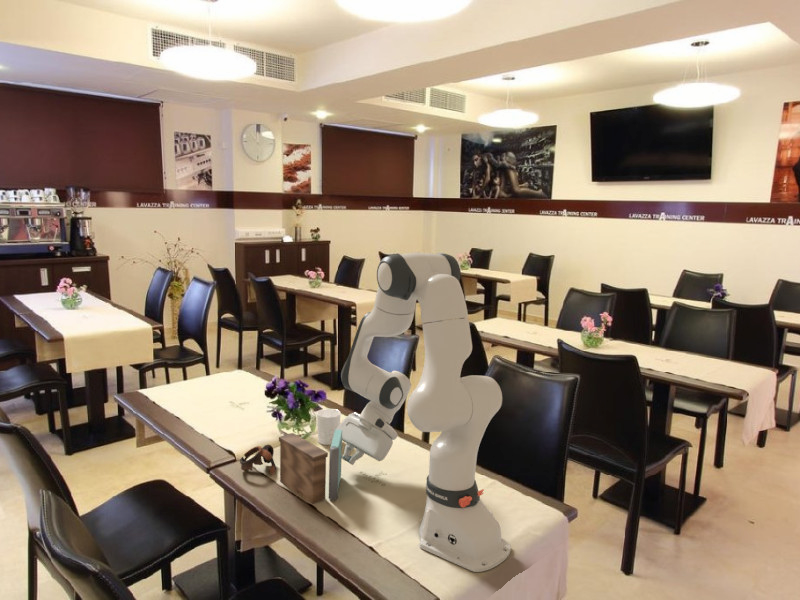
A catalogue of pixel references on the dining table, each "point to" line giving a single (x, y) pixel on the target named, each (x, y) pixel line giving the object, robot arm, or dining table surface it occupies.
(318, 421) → the white cup
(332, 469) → the teal square slab
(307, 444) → the wooden board
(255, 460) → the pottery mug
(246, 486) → the dining table surface
